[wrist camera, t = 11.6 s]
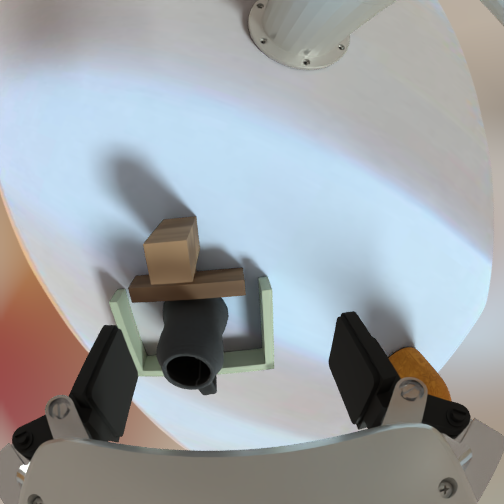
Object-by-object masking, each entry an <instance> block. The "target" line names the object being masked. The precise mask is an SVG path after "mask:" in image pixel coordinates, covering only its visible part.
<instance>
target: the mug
mask: <svg viewBox="0 0 504 504" xmlns="http://www.w3.org/2000/svg"><path fill="white" fill-rule="evenodd" d="M163 320H164V324H165V326H164V329H163V331H162V333H161V336H160V340H159V343H158V347H157V355H156V357H157V360H158V362H159V365H160V366H161V369H162V372H163V374H164V377H165V378H166V379H167V380H168V381H169V382H170V383H172V384H173V385H175V386H177V387H180V388H183V389H189V390H192V389H199V391H200V392H201V393H202V394H203V395H209V394H215V393H216V392H217V384H216V375H217V374H218V372H219V371H220V370H221V369H222V366H223V362H224V350H223V341H222V334H223V332H224V330H225V327H226V324H227V320H228V308H227V306H226V304H225V302H224V300H223V299H222V298H221V297H218V298H205V299H191V300H175V301H165V303H164V307H163Z"/></svg>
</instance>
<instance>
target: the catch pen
mask: <svg viewBox="0 0 504 504" xmlns="http://www.w3.org/2000/svg"><path fill="white" fill-rule="evenodd" d="M258 281H259V298H260V316H261V333H262V348H261V349H252V350H242V351H232V352H224V362H223V366H222V369H221V370H220V371H219V372H218V374H229V373H240V372H250V371H259V370H267V369H274V339H273V303H272V288H271V285H270V282H269V279H268V277H260V278H258ZM109 304H110V307H111V310H112V313H113V316H114V318H115V321H116V324H117V327H118V329H121V330H122V333H123V335H124V338H125V341H126V343H127V346H128V349H129V351H130V354H131V356H132V359H133V361H134V364H135V366H136V368H137V371H138V376H164V374H163V372H162V369H161V366H160V365H159V362H158V360H157V357H156V356H147V354H146V351H145V349H144V346H143V343H142V340H141V337H140V335H139V332H138V329H137V326H136V323H135V320H134V317H133V313H132V310H131V307H130V304H129V300H128V297H127V294H126V290H125V289H118V290H117V291H116V293H115V294H114V296H113V297H112V299H111V300H110V302H109Z"/></svg>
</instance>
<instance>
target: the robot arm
mask: <svg viewBox="0 0 504 504" xmlns="http://www.w3.org/2000/svg"><path fill="white" fill-rule="evenodd" d="M396 1H398V0H257V1H256V2H255V4H254V5H253V7H252V8H251V11H250V14H249V18H248V29H249V32H250V35H251V38H252V39H253V41H254V43H255V44H256V45H257V47H258V48H259V49H260V50H261V51H262V52H263V53H264V54H266V55H267V56H268V57H269V58H271V59H273V60H274V61H276V62H278V63H280V64H283V65H285V66H288V67H291V68H295V69H302V70H317V69H322V68H326V67H328V66H330V65H332V64H334V63H335V62H337V61H338V60H339V59H340V58H341V57H343V56H344V54H345V53H346V51H347V49H348V46H349V42H350V34H351V33H353V32H354V31H355V30H357V29H358V28H359V27H361V26H362V25H363V24H365V23H366V22H367V21H369V20H370V19H371V18H373V17H374V16H375V15H377V14H378V13H380V12H381V11H383V10H384V9H385V8H387V7H388V6H390V5H391V4H393V3H394V2H396ZM480 1H481V2H482V3H483V4H484V5H485V6H486V7H487V8H488V9H489V10H490V12H491V13H492V14H493V15H494V16H495V17H496V18H497V19H498V20H499V22H500V23H501V24H502V25H503V26H504V0H480ZM260 8H261V9H260ZM261 42H264V43H265V44H262V43H261ZM304 63H306V65H305V64H304ZM329 367H330V370H331V372H332V375H333V377H334V379H335V382H336V384H337V387H338V389H339V392H340V394H341V397H342V399H343V401H344V404H345V406H346V409H347V411H348V414H349V417H350V419H351V422H352V423H353V424H356V425H357V427H358V430H359V429H362V428H366V427H367V428H368V429H366V430H361V431H358V432H354V433H350V434H346V435H341V436H337V437H332V438H327V439H322V440H317V441H312V442H306V443H300V444H294V445H287V446H279V447H271V448H261V449H248V450H230V451H188V450H169V449H156V448H147V447H139V446H131V445H124V444H116V443H110V442H108V441H114V442H119V437H122V436H123V433H124V429H125V425H126V421H127V417H128V413H129V409H130V405H131V401H132V397H133V394H134V390H135V386H136V383H137V379H138V371H137V368H136V366H135V364H134V361H133V359H132V356H131V354H130V351H129V349H128V346H127V343H126V341H125V338H124V335H123V333H122V330H121V329H118V327H117V326H115V325H104V326H103V328H102V329H101V331H100V333H99V335H98V337H97V339H96V341H95V343H94V345H93V347H92V348H91V350H90V352H89V354H88V356H87V358H86V360H85V362H84V364H83V366H82V368H81V371H80V373H79V375H78V377H77V379H76V381H75V383H74V386H73V388H72V390H71V392H70V394H69V397H68V396H65V395H58V396H55V397H53V398H52V399H50V400H49V401H48V403H47V405H46V408H45V413H46V415H44V416H42V417H40V418H38V419H36V420H34V421H32V422H30V423H28V424H25V425H23V426H22V427H19V428H18V429H17V430H16V431H15V432H14V434H13V438H12V443H13V444H12V445H11V444H10V443H8V444H7V445H6V446H5V447H4V448H3V449H2V450H1V451H0V498H1V499H2V501H3V503H4V504H478V503H477V502H478V501H479V499H480V497H481V496H482V494H483V492H484V490H485V489H486V487H487V485H488V483H489V481H490V480H491V477H492V476H493V474H494V472H495V470H496V468H497V465H498V463H499V461H500V459H501V456H502V454H503V452H504V436H503V435H502V434H500V433H499V432H497V431H495V430H494V429H492V428H490V427H489V426H487V425H486V424H484V423H482V422H481V421H479V420H477V419H476V418H474V419H473V420H472V419H470V414H469V411H468V410H467V408H466V407H464V406H463V405H461V404H459V403H455V402H452V401H448V400H445V399H442V398H439V397H435V396H432V395H429V394H428V390H427V387H426V385H425V384H424V383H423V382H422V381H421V380H420V379H417V378H415V377H405V378H402V379H401V378H400V376H399V374H398V373H397V371H396V370H395V368H394V366H393V365H392V363H391V362H390V360H389V359H388V357H387V355H386V354H385V352H384V351H383V349H382V348H381V346H380V345H379V343H378V342H377V340H376V339H375V338H373V337H372V336H371V335H370V333H369V332H368V330H367V328H366V327H365V325H364V324H363V322H362V321H361V319H360V318H359V316H358V315H357V314H356V312H354V311H353V312H346V313H342V314H341V316H340V317H338V318H337V322H336V327H335V333H334V338H333V343H332V347H331V352H330V357H329Z"/></svg>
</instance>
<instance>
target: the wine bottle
mask: <svg viewBox="0 0 504 504" xmlns="http://www.w3.org/2000/svg"><path fill="white" fill-rule="evenodd" d="M388 359H389V360H390V362H391V363H392V365H393V366H394V368H395V370H396V371H397V373H398V374H399V376H400V378H401V379H402V378H405V377H415V378H417V379H420V380H421V381H422V382H423V383H424V384H425V385H426V387H427V390H428V394H429V395H432V396H435V397H439V398H442V399H445V400H448V401H451V397H450V394H449V391H448V388H447V386H446V384H445V382H444V381H443V379H442V378H441V377H440V376H439V374H438V373H437V372H436V370H435V369H434V368H433V367H432V366H431V365H430V363H429V362H428V361H427V360H426V359H425V358H424V357H423V356H422V354H421V353H420V352H419V351H418V350H417V349H415V348H412V347H407V348H403V349H401V350H399V351H397V352H395V353H394V354H393V355H391V356H390V357H389V358H388Z"/></svg>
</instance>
